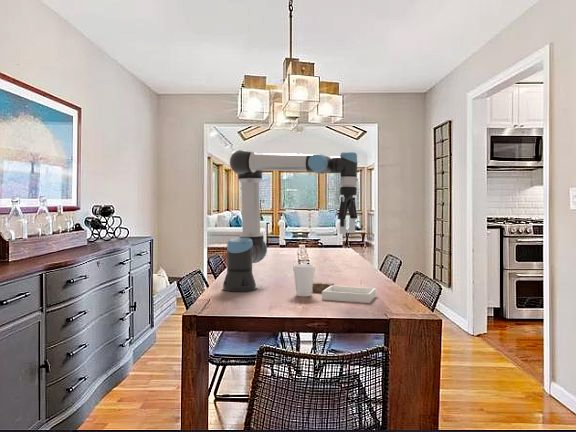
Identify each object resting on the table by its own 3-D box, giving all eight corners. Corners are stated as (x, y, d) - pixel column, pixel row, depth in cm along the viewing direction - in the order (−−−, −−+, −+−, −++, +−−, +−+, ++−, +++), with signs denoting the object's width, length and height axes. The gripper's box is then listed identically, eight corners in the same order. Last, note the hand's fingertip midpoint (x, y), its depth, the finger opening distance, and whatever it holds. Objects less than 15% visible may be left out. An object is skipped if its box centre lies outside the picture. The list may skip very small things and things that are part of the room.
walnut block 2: (321, 292, 234) (321, 283, 234) (326, 291, 237) (326, 282, 237) (329, 293, 231) (329, 284, 231) (333, 292, 235) (333, 283, 235)
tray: (322, 299, 217) (322, 291, 216) (331, 293, 232) (331, 285, 232) (369, 303, 210) (369, 294, 210) (375, 296, 225) (375, 288, 225)
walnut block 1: (312, 292, 234) (312, 283, 234) (313, 290, 238) (313, 282, 238) (321, 292, 234) (321, 283, 233) (321, 291, 238) (321, 282, 237)
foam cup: (312, 297, 221) (313, 267, 220) (291, 296, 223) (291, 266, 222) (315, 293, 230) (316, 264, 230) (295, 292, 232) (295, 263, 232)
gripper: (347, 185, 221) (346, 235, 222) (364, 187, 244) (363, 232, 245) (331, 185, 224) (330, 234, 225) (348, 187, 247) (348, 231, 248)
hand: (347, 233), depth 235 cm, fingers open, 13 cm apart
